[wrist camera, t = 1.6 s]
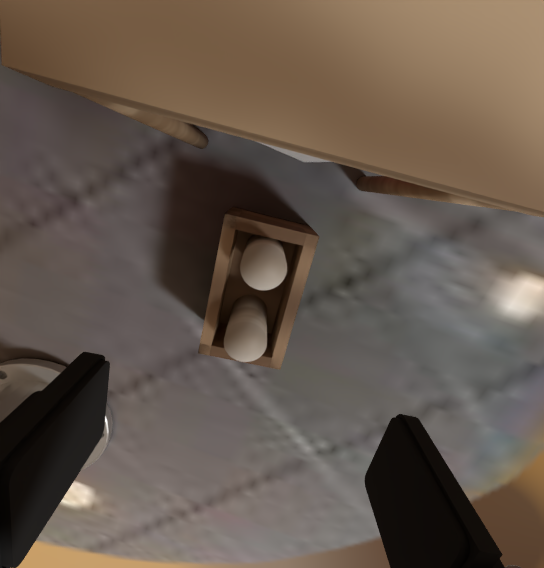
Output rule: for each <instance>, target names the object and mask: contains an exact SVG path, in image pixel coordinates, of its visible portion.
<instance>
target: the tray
mask: <svg viewBox="0 0 544 568" xmlns="http://www.w3.org/2000/svg"><path fill="white" fill-rule="evenodd" d="M318 239H319V236H318V235H317V234H316V232H315V231H314V230H313V229H312V228H311V227H310V226H307V225H303V224H299V223H295V222H291V221H287V220H283V219H279V218H275V217H271V216H267V215H263V214H259V213H255V212H251V211H247V210H243V209H239V208H235V207H232V208H231V209H230V210H229V211H227V212H226V213H225V216H224V221H223V227H222V232H221V237H220V242H219V247H218V253H217V258H216V263H215V268H214V274H213V279H212V284H211V289H210V294H209V300H208V305H207V310H206V315H205V320H204V326H203V331H202V336H201V341H200V346H199V352H198V353H200V354H205V355H210V356H215V357H220V358H225V359H230V360H235V361H240V362H245V363H250V364H255V365H260V366H265V367H270V368H275V369H280V368H281V365H282V361H283V358H284V355H285V351H286V348H287V344H288V341H289V338H290V334H291V331H292V327H293V324H294V321H295V317H296V314H297V310H298V307H299V304H300V300H301V297H302V294H303V290H304V287H305V283H306V280H307V277H308V273H309V270H310V266H311V263H312V260H313V256H314V253H315V249H316V246H317V243H318Z"/></svg>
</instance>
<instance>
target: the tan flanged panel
mask: <svg viewBox="0 0 544 568" xmlns="http://www.w3.org/2000/svg"><path fill="white" fill-rule="evenodd" d="M0 26H1V58H2V65H3V66H5V67H8V68H10V69H12V70H15V71H17V72H19V73H22V74H24V75H26V76H29V77H31V78H34V79H36V80H38V81H41V82H43V83H45V84H48V85H50V86H52V87H56V88H60V89H63V90H67V91H71V92H74V93H76V94H78V95H80V96H83V97H85V98H87V99H89V100H92V101H94V102H96V103H98V104H101V105H103V106H105V107H107V108H110V109H112V110H114V111H116V112H119V113H121V114H123V115H125V116H128V117H130V118H132V119H134V120H137V121H139V122H141V123H143V124H146V125H148V126H150V127H152V128H155V129H157V130H159V131H162V132H164V133H166V134H168V135H171V136H173V137H175V138H177V139H180V140H182V141H184V142H186V143H189V144H191V145H193V146H195V147H198V148H200V149H203V148H205V147H206V146H207V145H208V138H207V136H206V135H205V134H204V133H202V132H201V131H199V130H198V129H196V128H195V127H194V126H192V125H191V124H194V125H197V126H201V127H205V128H209V129H212V130H216V131H220V132H223V133H227V134H231V135H235V136H238V137H242V138H246V139H249V140H253V141H257V142H261V143H264V144H268V145H272V146H276V147H279V148H283V149H287V150H290V151H294V152H298V153H302V154H305V155H309V156H313V157H316V158H320V159H324V160H328V161H331V162H335V163H339V164H342V165H346V166H350V167H354V168H357V169H361V170H365V171H368V172H372V173H376V174H380V175H383V176H367V177H360V178H359V179H358V181H357V184H356V185H357V188H358V189H359V190H361V191H367V192H374V193H382V194H390V195H397V196H405V197H412V198H420V199H427V200H435V201H442V202H450V203H457V204H465V205H472V206H480V207H487V208H495V209H502V210H510V211H517V212H521V213H525V214H528V215H532V216H539V217H544V0H0ZM189 123H190V124H189Z"/></svg>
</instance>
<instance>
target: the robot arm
mask: <svg viewBox="0 0 544 568" xmlns="http://www.w3.org/2000/svg"><path fill="white" fill-rule="evenodd" d="M109 368H110V363H109V362H108V361H105V357H104V356H103V355H99V354H94V353H89V352H83V353H82V354H80V355H79V356H78V357H77V358H76V359H75V360H74V361H73V362H72V363H71V364H70V365H69V366H68V367H65V366H63V365H60V364H57V363H54V362H51V361H45V360H40V359H15V360H8V361H5V362H3V363H0V568H16V567H17V566H19V564H20V563H21V562H22V561H23V559H24V558H25V556H26V555H27V553H28V552H29V550H30V548H31V547H32V545H33V544H34V542H35V541H36V539H37V538H38V536H39V534H40V533H41V531H42V530H43V528H44V527H45V525H46V523H47V522H48V520H49V519H50V517H51V516H52V514H53V513H54V511H55V509H56V508H57V506H58V505H59V503H60V502H61V500H62V499H63V497H64V495H65V494H66V492H67V491H68V489H69V488H70V486H71V485H72V483H73V481H74V480H75V478H76V477H77V475H78V474H79V472H80V471H81V470H82V469H84V468H86V467H88V466H90V465H91V464H92V463H94V462H95V461H96V460H97V459H98V458H99V457H100V456H101V454H102V453H103V452H104V450H105V448H106V446H107V445H108V443H109V441H110V438H111V435H112V431H113V420H112V416H111V411H110V409H109V407H108V404H107V392H108V380H109ZM365 487H366V490H367V493H368V497H369V500H370V503H371V506H372V510H373V513H374V516H375V519H376V522H377V526H378V529H379V532H380V535H381V538H382V542H383V545H384V548H385V551H386V555H387V558H388V561H389V564H390V567H391V568H521V567H518V566H513V565H512V566H511V565H508V566H507V567H504V565H503V564H502V562H501V560H500V557H501V556H502V553H501V552H500V550H499V548H498V547H497V545H496V543H495V542H494V540H493V539H492V537H491V536H490V534H489V532H488V530H487V529H486V528H485V526H484V524H483V522H482V521H481V519H480V517H479V516H478V514H477V513H476V511H475V509H474V508H473V506H472V505H471V503H470V501H469V500H468V498H467V496H466V495H465V493H464V492H463V490H462V488H461V487H460V485H459V483H458V482H457V480H456V479H455V477H454V475H453V474H452V472H451V471H450V469H449V467H448V466H447V464H446V462H445V461H444V459H443V458H442V456H441V454H440V453H439V451H438V449H437V448H436V446H435V445H434V443H433V441H432V440H431V438H430V436H429V435H428V433H427V432H426V430H425V428H424V427H423V425H422V424H421V422H420V420H419V419H418V418H416V417H412V416H407V415H402V414H398V415H397V416H396V418H392V419H391V421H390V423H389V425H388V427H387V429H386V431H385V434H384V436H383V438H382V440H381V442H380V444H379V447H378V449H377V451H376V453H375V455H374V457H373V460H372V462H371V464H370V466H369V468H368V470H367V473H366V475H365Z"/></svg>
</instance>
